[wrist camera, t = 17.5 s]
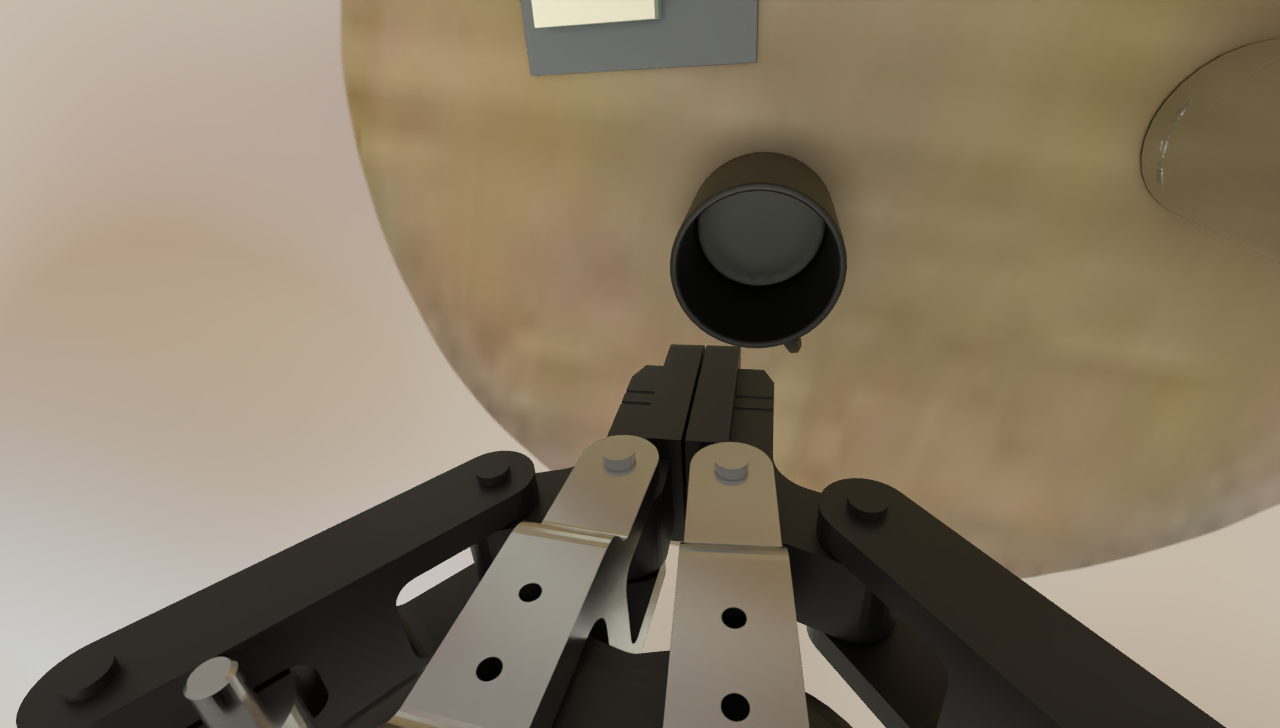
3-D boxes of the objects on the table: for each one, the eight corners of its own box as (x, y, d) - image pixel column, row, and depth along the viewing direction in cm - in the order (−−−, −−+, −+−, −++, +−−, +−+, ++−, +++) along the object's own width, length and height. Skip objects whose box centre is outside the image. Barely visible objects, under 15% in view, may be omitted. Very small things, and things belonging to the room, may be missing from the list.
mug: (732, 337, 45) (722, 403, 37) (668, 185, 40) (641, 223, 32) (862, 297, 41) (881, 360, 34) (808, 125, 37) (815, 152, 29)
